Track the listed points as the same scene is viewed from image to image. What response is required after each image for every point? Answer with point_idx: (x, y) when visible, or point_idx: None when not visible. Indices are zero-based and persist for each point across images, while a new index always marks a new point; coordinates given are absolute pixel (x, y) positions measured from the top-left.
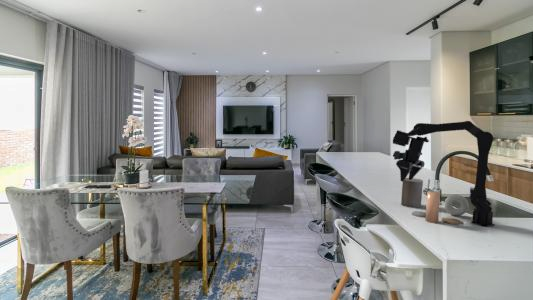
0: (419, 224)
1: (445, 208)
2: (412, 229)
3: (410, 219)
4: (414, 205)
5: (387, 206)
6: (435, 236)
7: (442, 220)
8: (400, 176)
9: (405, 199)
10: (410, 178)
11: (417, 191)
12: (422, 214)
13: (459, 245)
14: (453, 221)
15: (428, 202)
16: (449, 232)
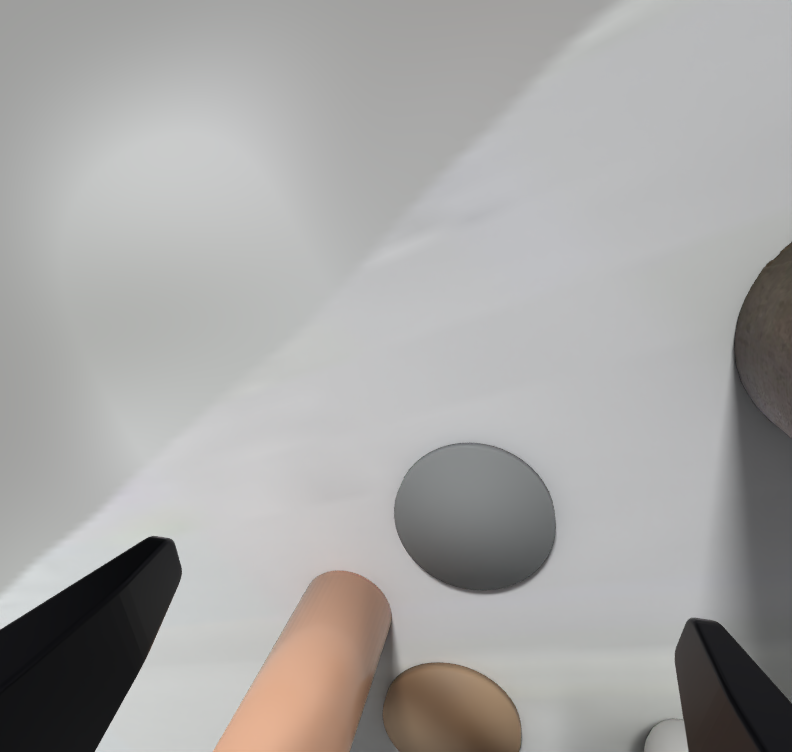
0: (202, 553)
1: (661, 734)
2: (73, 537)
3: (266, 477)
4: (763, 410)
5: (577, 120)
6: None
7: (404, 675)
8: (30, 611)
9: (789, 310)
10: (694, 684)
11: None
12: (450, 538)
13: None
14: (422, 739)
15: (228, 726)
16: (197, 709)
